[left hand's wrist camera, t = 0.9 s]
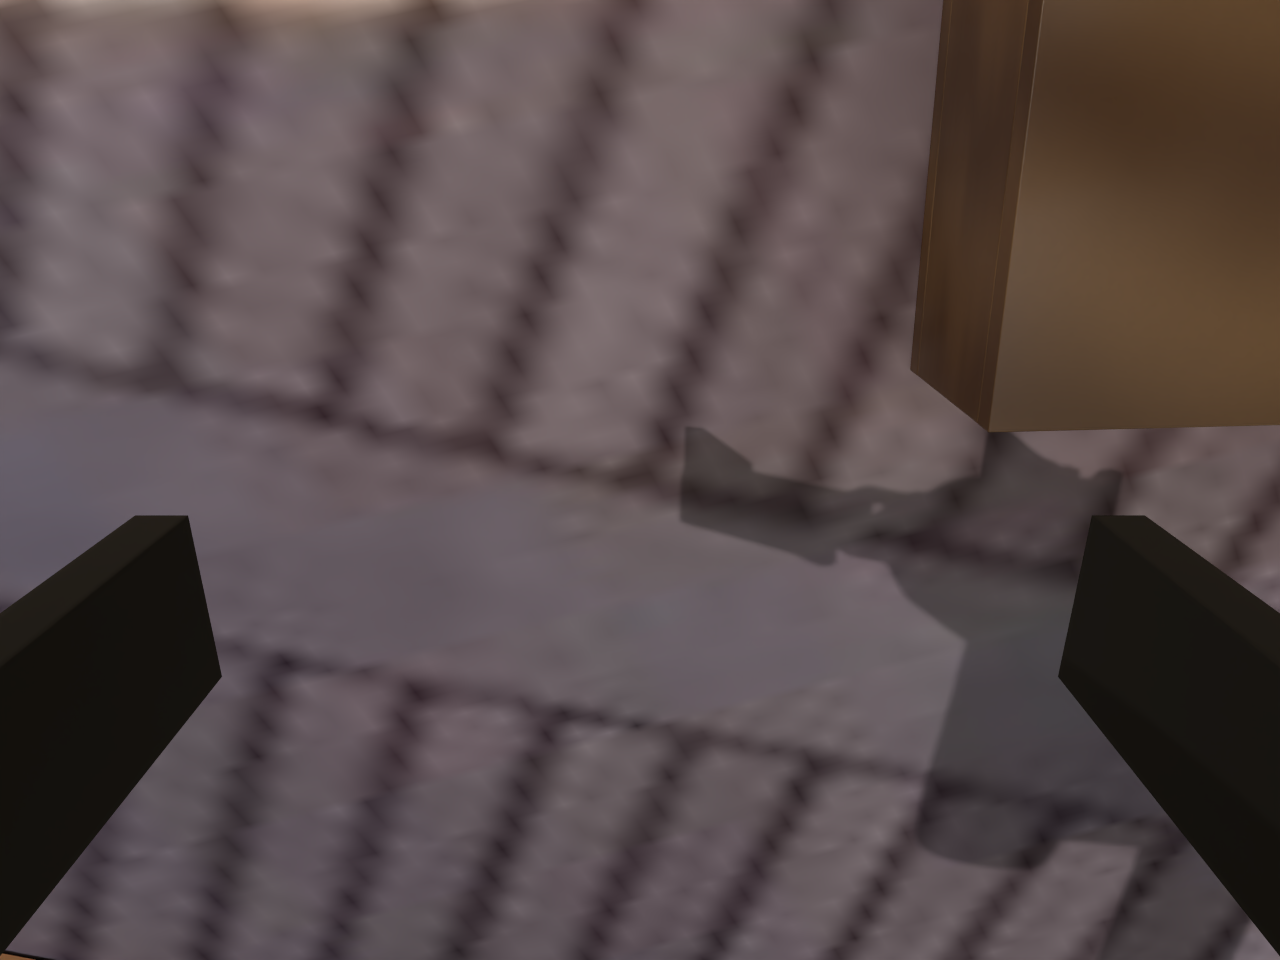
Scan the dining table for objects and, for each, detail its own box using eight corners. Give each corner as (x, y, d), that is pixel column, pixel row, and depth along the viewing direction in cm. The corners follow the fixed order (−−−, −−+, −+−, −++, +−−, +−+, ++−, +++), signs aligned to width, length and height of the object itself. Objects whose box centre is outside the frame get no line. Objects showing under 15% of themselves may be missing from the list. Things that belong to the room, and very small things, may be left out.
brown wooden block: (958, -168, 30) (1079, -291, 22) (1278, -179, 30) (1523, -306, 22) (910, 370, 37) (988, 432, 29) (1170, 363, 37) (1324, 424, 29)
